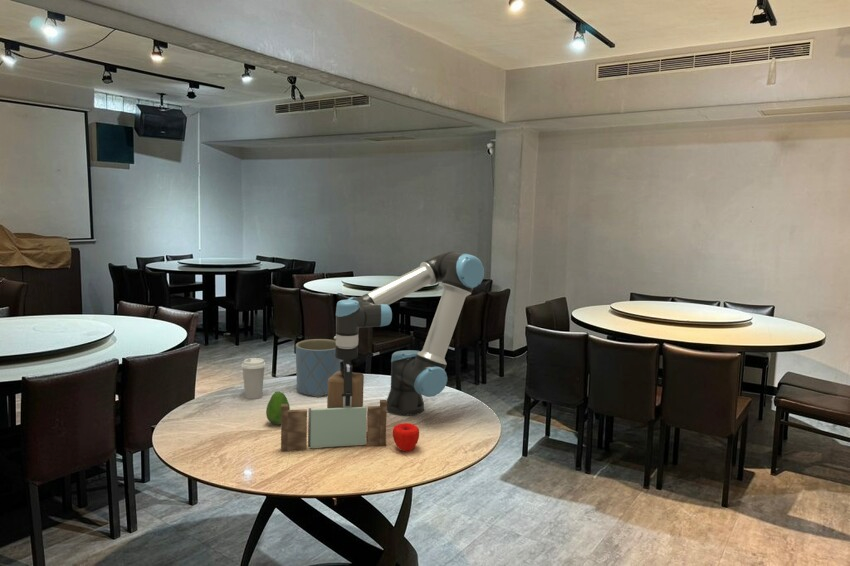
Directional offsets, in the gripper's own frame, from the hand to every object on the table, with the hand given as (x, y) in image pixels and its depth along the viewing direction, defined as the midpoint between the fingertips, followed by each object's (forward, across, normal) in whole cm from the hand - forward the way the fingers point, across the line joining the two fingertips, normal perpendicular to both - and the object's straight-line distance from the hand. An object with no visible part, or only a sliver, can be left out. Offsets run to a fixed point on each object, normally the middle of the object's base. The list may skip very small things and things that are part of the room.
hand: (345, 407), depth 196 cm
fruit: (+10, -14, -22) cm, 28 cm away
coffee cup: (+10, -43, -33) cm, 55 cm away
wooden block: (+9, 0, 0) cm, 9 cm away
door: (+10, +9, -3) cm, 13 cm away
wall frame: (+10, +9, -3) cm, 14 cm away
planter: (+10, -49, -7) cm, 50 cm away
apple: (+10, +13, +19) cm, 25 cm away
